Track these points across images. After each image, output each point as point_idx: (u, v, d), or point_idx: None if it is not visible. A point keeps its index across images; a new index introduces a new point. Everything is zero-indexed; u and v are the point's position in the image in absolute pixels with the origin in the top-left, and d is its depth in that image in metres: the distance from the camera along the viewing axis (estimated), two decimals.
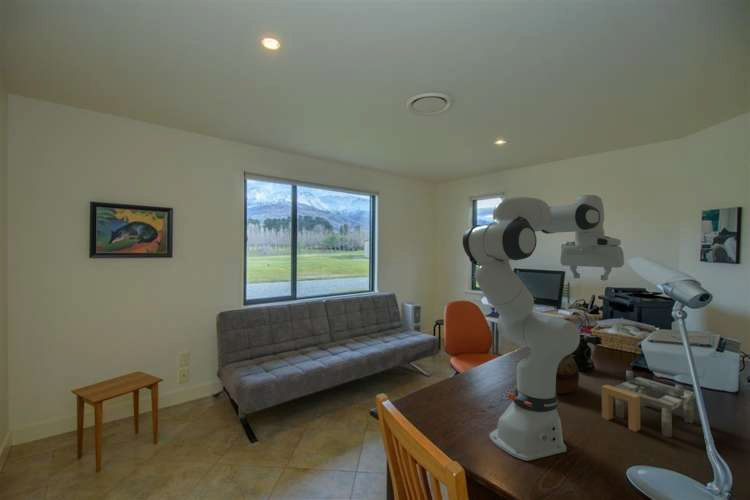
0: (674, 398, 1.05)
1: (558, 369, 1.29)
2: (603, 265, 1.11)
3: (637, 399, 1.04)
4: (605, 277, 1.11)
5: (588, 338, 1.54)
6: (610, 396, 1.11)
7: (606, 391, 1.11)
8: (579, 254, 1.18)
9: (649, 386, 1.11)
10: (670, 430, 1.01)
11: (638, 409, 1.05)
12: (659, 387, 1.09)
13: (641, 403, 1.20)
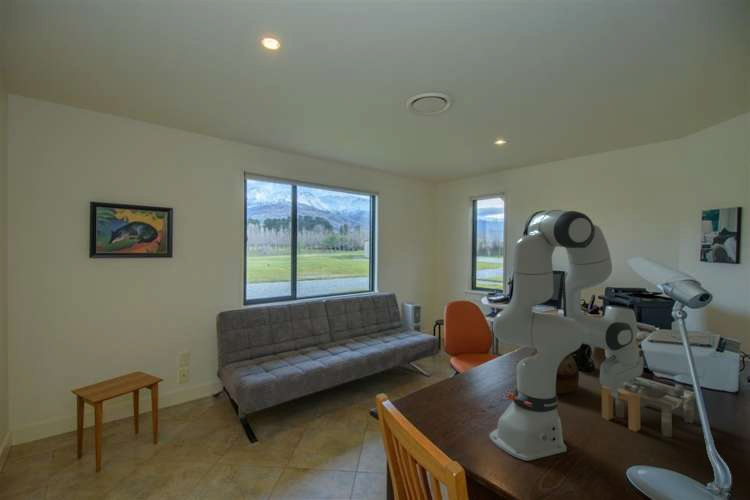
0: (674, 398, 1.05)
1: (558, 369, 1.29)
2: (636, 376, 1.10)
3: (637, 399, 1.04)
4: None
5: None
6: (610, 396, 1.11)
7: (606, 391, 1.11)
8: (622, 370, 1.06)
9: (649, 386, 1.11)
10: (670, 430, 1.01)
11: (638, 409, 1.05)
12: (659, 387, 1.09)
13: (641, 403, 1.20)
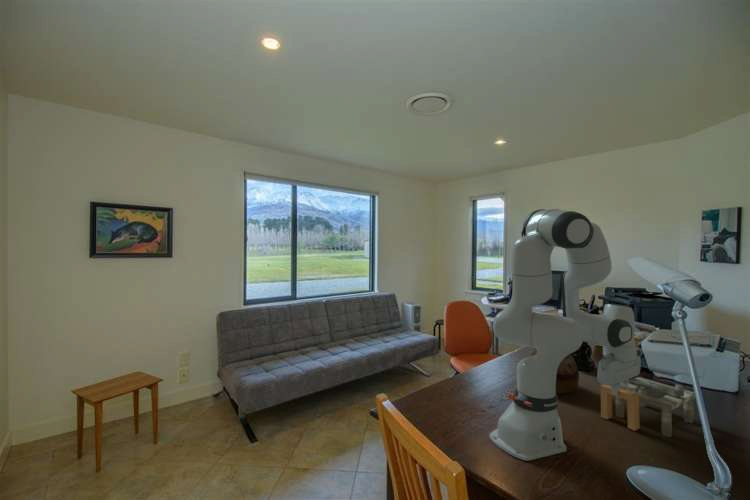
0: (674, 398, 1.05)
1: (558, 369, 1.29)
2: (633, 375, 1.10)
3: (636, 398, 1.04)
4: None
5: None
6: (609, 395, 1.12)
7: (605, 391, 1.11)
8: (619, 368, 1.06)
9: (649, 386, 1.11)
10: (670, 430, 1.01)
11: (637, 408, 1.05)
12: (659, 387, 1.09)
13: (641, 403, 1.20)
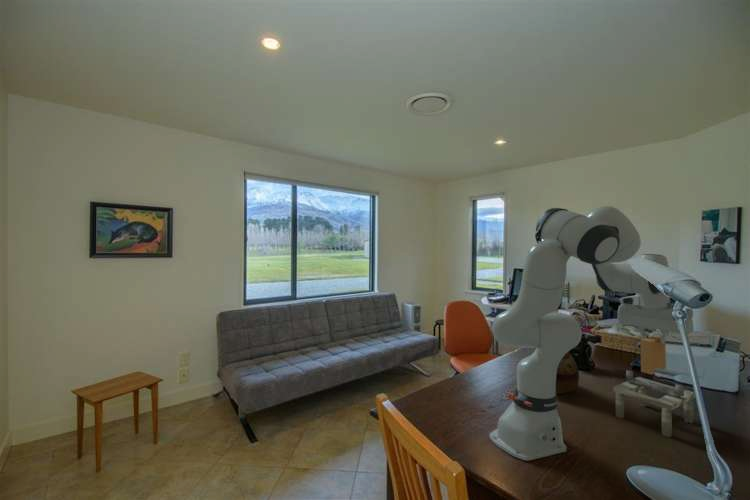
0: (674, 398, 1.05)
1: (558, 369, 1.29)
2: None
3: None
4: None
5: (590, 337, 1.56)
6: None
7: (653, 345, 1.08)
8: None
9: (649, 386, 1.11)
10: (670, 430, 1.01)
11: None
12: (659, 387, 1.09)
13: (641, 403, 1.20)
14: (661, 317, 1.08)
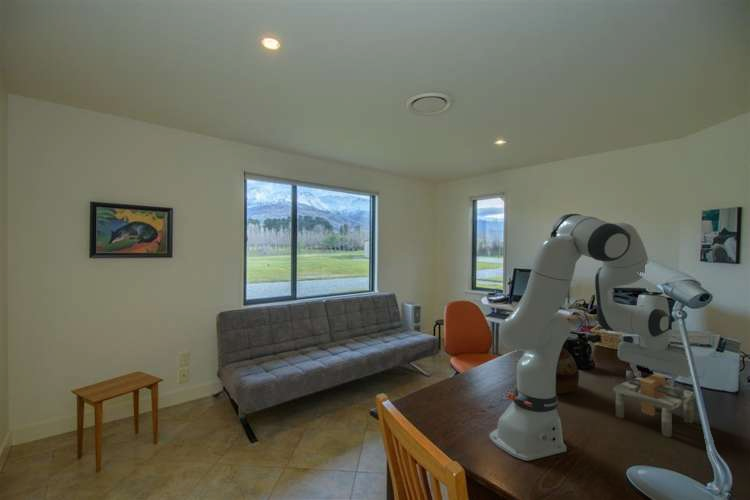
0: (674, 398, 1.05)
1: (558, 369, 1.29)
2: None
3: None
4: None
5: (590, 336, 1.56)
6: None
7: (653, 386, 1.08)
8: None
9: None
10: (670, 430, 1.01)
11: None
12: (659, 387, 1.09)
13: None
14: (661, 358, 1.08)
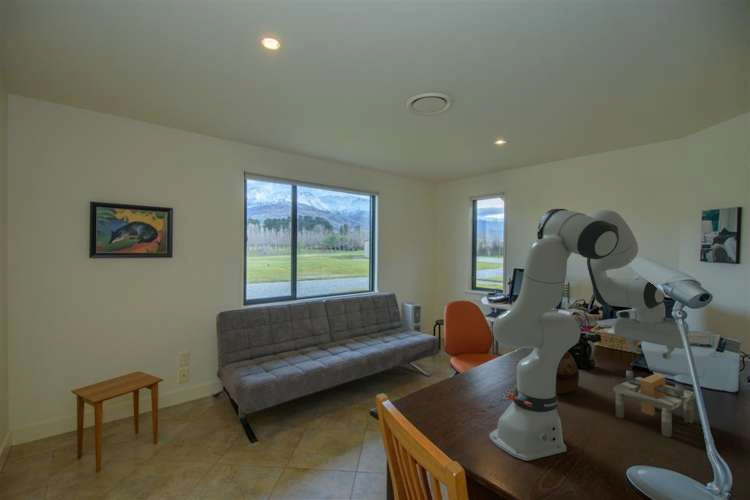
0: (674, 398, 1.05)
1: (558, 369, 1.29)
2: None
3: None
4: None
5: (590, 336, 1.57)
6: None
7: (653, 386, 1.08)
8: None
9: None
10: (670, 430, 1.01)
11: None
12: (659, 387, 1.09)
13: None
14: (657, 331, 1.09)
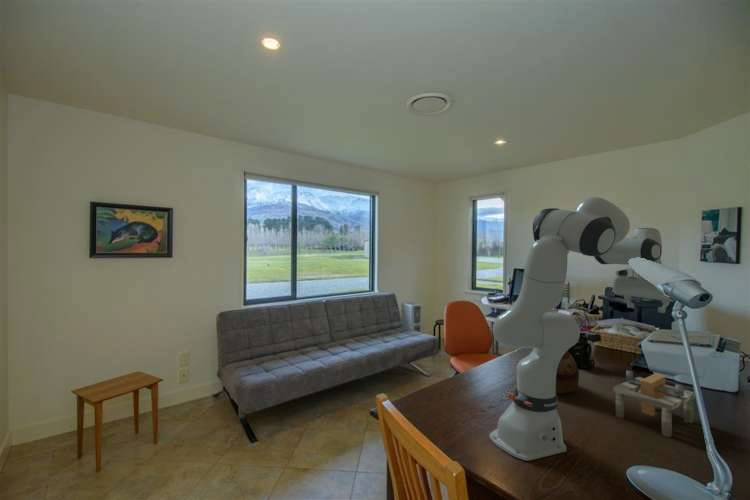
0: (674, 398, 1.05)
1: (558, 369, 1.29)
2: None
3: None
4: None
5: (590, 336, 1.57)
6: None
7: (653, 386, 1.08)
8: None
9: None
10: (670, 430, 1.01)
11: None
12: (659, 387, 1.09)
13: None
14: (653, 287, 1.15)
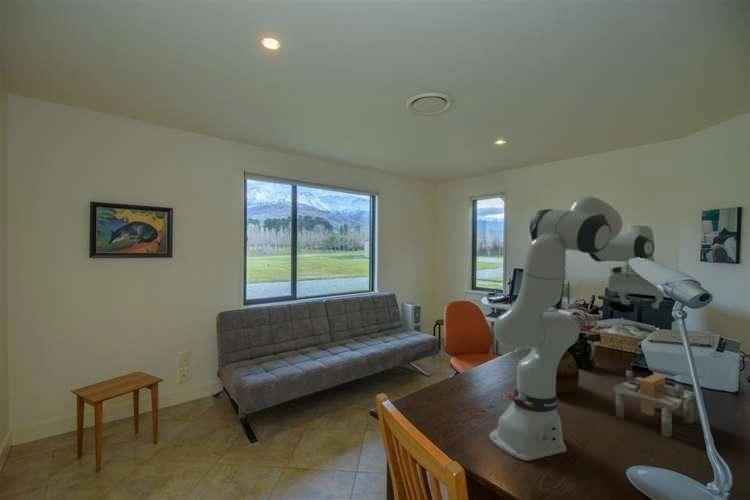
0: (674, 398, 1.05)
1: (558, 369, 1.29)
2: None
3: None
4: None
5: (590, 335, 1.58)
6: None
7: (653, 386, 1.08)
8: None
9: None
10: (670, 430, 1.01)
11: None
12: (659, 387, 1.09)
13: None
14: (646, 283, 1.18)
